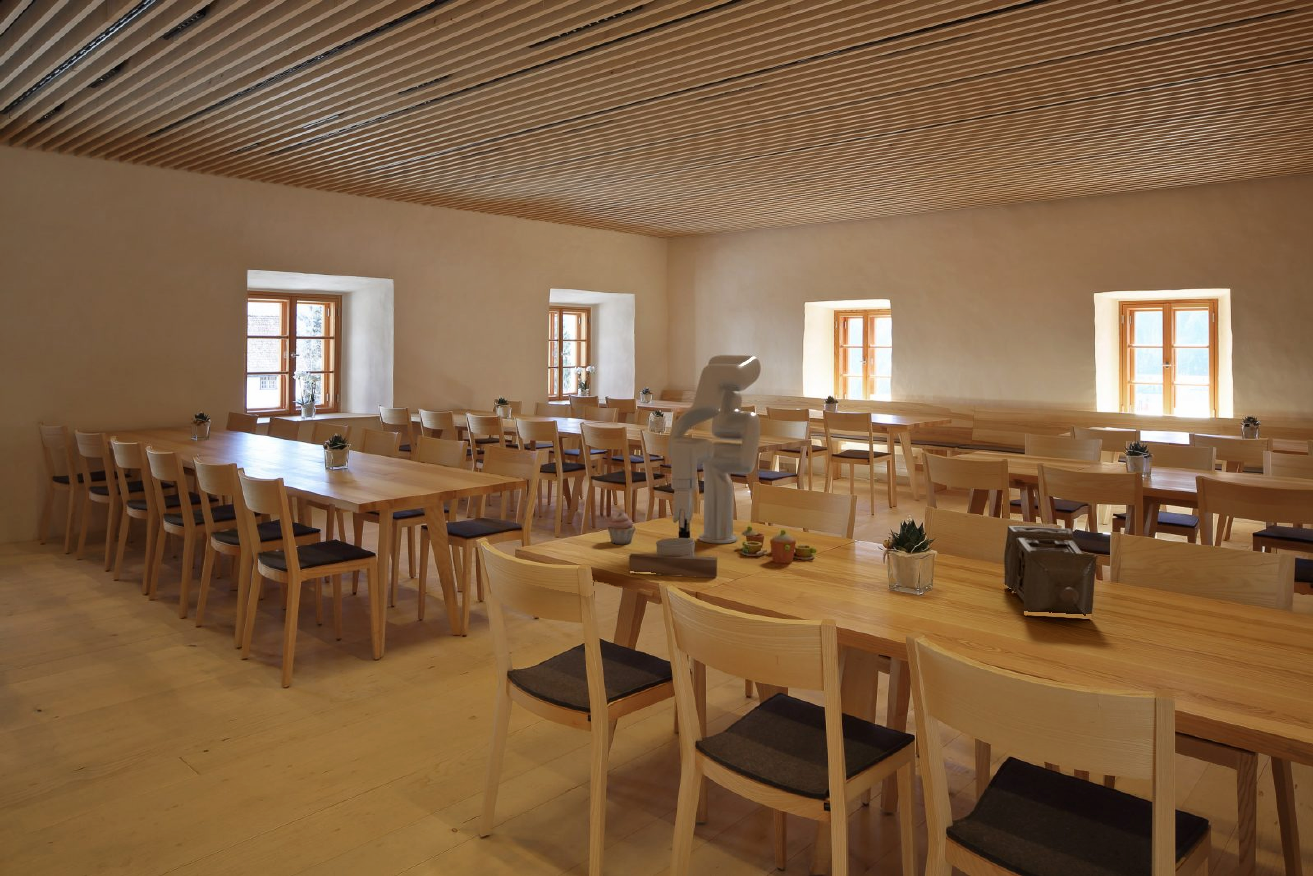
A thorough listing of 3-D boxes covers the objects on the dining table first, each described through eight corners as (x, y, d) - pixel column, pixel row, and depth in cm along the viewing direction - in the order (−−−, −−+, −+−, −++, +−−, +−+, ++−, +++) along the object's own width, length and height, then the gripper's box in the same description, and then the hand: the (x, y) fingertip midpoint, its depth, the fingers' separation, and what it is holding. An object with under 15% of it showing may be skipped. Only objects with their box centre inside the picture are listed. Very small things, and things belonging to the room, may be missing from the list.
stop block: (631, 571, 254) (631, 553, 253) (717, 575, 250) (717, 557, 249) (629, 573, 251) (629, 556, 250) (715, 578, 247) (716, 559, 246)
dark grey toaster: (1103, 645, 202) (1120, 566, 199) (1020, 629, 205) (1036, 551, 202) (1066, 598, 236) (1081, 530, 233) (995, 585, 239) (1009, 517, 236)
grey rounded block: (673, 575, 250) (673, 546, 249) (648, 567, 258) (648, 539, 257) (710, 567, 259) (710, 539, 258) (684, 560, 267) (684, 533, 266)
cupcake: (602, 541, 292) (602, 510, 291) (628, 538, 296) (628, 508, 295) (613, 546, 283) (613, 515, 282) (640, 544, 287) (640, 513, 286)
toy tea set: (822, 559, 271) (823, 527, 270) (791, 568, 260) (791, 534, 259) (754, 545, 289) (754, 515, 288) (721, 552, 278) (722, 521, 277)
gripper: (675, 478, 276) (675, 537, 279) (667, 488, 261) (668, 550, 264) (699, 479, 275) (699, 538, 277) (693, 488, 260) (693, 551, 263)
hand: (684, 544), depth 271 cm, fingers closed
